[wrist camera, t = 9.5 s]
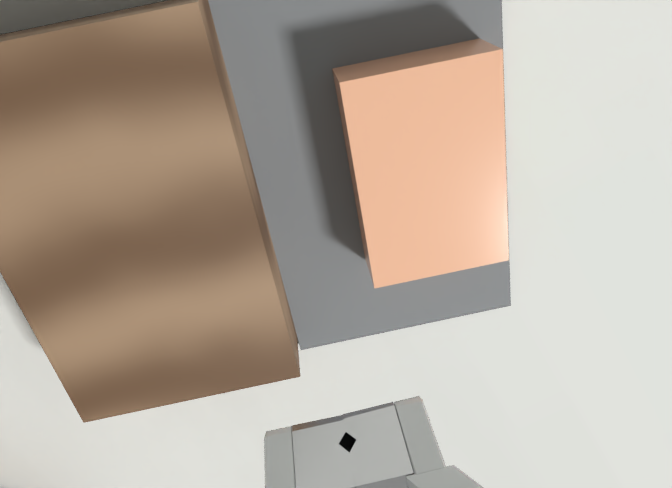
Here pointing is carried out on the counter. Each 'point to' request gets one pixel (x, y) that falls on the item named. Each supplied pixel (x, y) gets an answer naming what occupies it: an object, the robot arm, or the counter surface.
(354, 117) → the tile
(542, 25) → the counter surface
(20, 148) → the deck
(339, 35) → the mat
